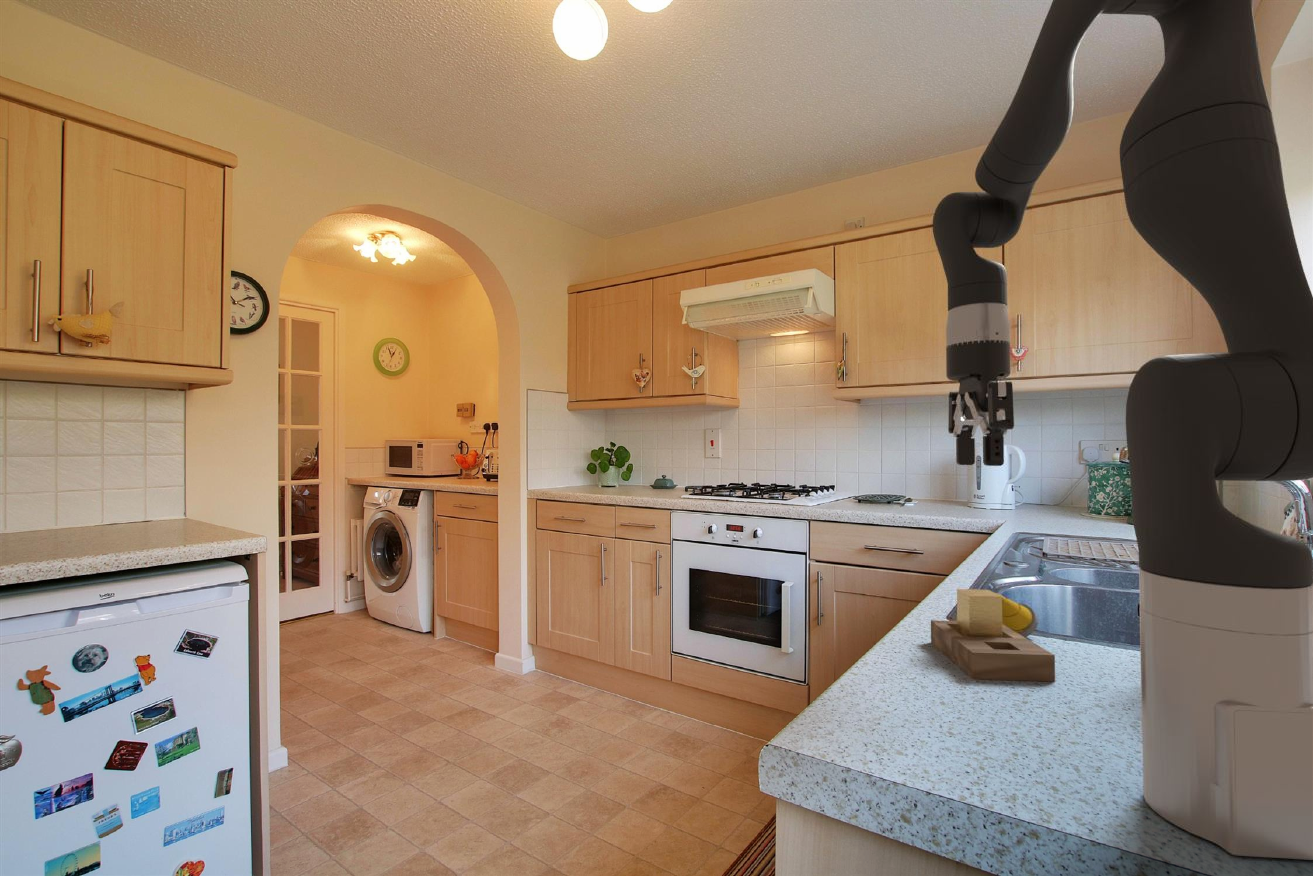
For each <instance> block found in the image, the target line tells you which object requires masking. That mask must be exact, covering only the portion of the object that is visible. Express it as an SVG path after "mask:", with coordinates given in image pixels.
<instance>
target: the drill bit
mask: <svg viewBox="0 0 1313 876" xmlns="http://www.w3.org/2000/svg"><path fill="white" fill-rule="evenodd" d="M995 593H996V594H998V595H1000V596H1002V624H1003V625H1004V626H1006V627H1008V628H1009V629H1011V630H1013V631H1015V632H1016V633H1018V634H1020V635H1021V636H1023V637H1025V638H1028V637H1029V636H1031V635H1032V634H1033V633H1034V632H1035V631H1036V630H1037V627H1038V625H1039V619H1038V617H1037V616H1038V615H1037V614H1036V613H1035V611H1034V610H1033V609H1032V608H1031V607H1030V606H1028V605H1027V604H1024V603H1017V602H1015V601H1013V600H1011V599H1010V598H1007V597H1005V596H1003V595H1002V594H1000V593H998V592H995Z"/></svg>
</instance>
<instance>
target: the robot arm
mask: <svg viewBox="0 0 1313 876" xmlns="http://www.w3.org/2000/svg"><path fill="white" fill-rule="evenodd" d="M1048 9H1049V10H1048V12H1047V14H1046V17H1045V19H1044V21H1043V24H1042V27H1041V28H1040V30H1039V33H1038V35H1037V38H1036V41H1035V44H1034V46H1033V49H1032V52H1031V53H1030V54H1031V55H1030V57H1029V60H1028V62H1027V65H1026V67H1025V70H1024V73H1023V75H1022V78H1021V80H1020V83H1019V85H1018V88H1017V90H1016V93H1015V94H1014V97H1013V98H1012V100H1011V103H1010V105H1009V107H1008V109H1007V111H1006V113H1005V115H1004V117H1003V119H1002V120H1001V121H1000V124H998V127H997V129H996V130H995V132H994V134H993V136H992V137H991V140H990V141H989V143H988V145H987V146H986V148H985V150H984V151H983V154H982V155H981V157H980V159H979V161H978V162H977V164H976V167H975V172H974V177H975V182H976V184H977V185H978V187H979V188H980V189H981V190H982V191H980V192H979V191H977V192H976V191H975V192H973V191H957V192H952V193H949V194H947V195H945V196H944V197H943V198H942V199H941V200H940V201H939V203H938V204H937V206H936V207H935V210H934V214H933V217H932V235H933V238H934V243H935V245H936V248H937V251H938V254H939V257H940V260H941V264H942V268H943V272H944V275H945V278H946V282H947V319H946V324H945V326H946V327H945V351H946V352H945V353H946V354H945V355H946V358H945V360H946V361H945V362H946V363H945V365H946V378H947V379H948V380H950V381H953V382H956V381H957V382H958V383H959V385H958V386H959V387H958V391H949V393H948V433H949V434H953V438H955V443H956V444H955V447H956V448H955V450H956V452H955V453H956V454H955V457H956V458H955V460H956V461H955V462H956V464H957V465H959V466H973V465H974V464H975V463H976V447H975V446H976V445H975V443H976V439H975V438H974V437H975V435H976V431H977V427H978V426H980V428H981V431H982V435H983V436H982V464H983V465H984V466H987V467H989V466H990V467H1000V466H1003V465H1004V463H1005V455H1004V454H1005V446H1004V445H1005V444H1004V442H1005V441H1004V439H1005V438H1004V436H1006V435H1007V434H1008V430H1013V429H1014V427H1015V417H1014V415H1015V414H1014V413H1015V412H1014V390H1013V382H1012V381H1011V380H1004V379H1005V378H1008V377H1009V376H1010V375H1011V330H1010V329H1011V328H1010V326H1011V325H1010V324H1011V323H1010V316H1009V311H1008V276H1007V274H1008V273H1007V269H1006V267H1005V265H1003V264H1002V263H999V262H997V261H995V260H991V259H987V258H984V257H982V256H981V255H979V254H978V253H977V252H976V250H975V249H994V248H999V247H1001V246H1004V245H1006V244H1008V243H1009V242H1010V241H1011V240H1012V239H1014V238H1015V236H1016V235H1017V234H1018V232H1019V230H1020V229H1021V226H1022V222H1023V220H1024V217H1025V213H1026V209H1027V207H1028V203H1029V201H1030V198H1031V195H1032V193H1033V190H1034V187H1035V185H1036V183H1037V181H1038V180H1039V178H1040V177H1041V175H1042V174H1043V173H1044V171H1045V170H1046V168H1047V167H1048V166H1049V163H1050V162H1051V161H1052V160H1053V159H1054V157H1055V155H1056V154H1057V152H1058V150H1059V149H1060V148H1061V147H1062V144H1063V143H1064V141H1065V139H1066V137H1067V135H1068V132H1069V131H1070V128H1071V125H1072V120H1073V115H1074V114H1073V113H1074V67H1075V59H1076V55H1077V52H1078V49H1079V46H1080V44H1081V43H1082V41H1083V39H1084V37H1085V35H1086V33H1088V30H1089V29H1090V27H1091V26H1092V25H1093V23H1094V22H1095V20H1096V19H1097V18H1098V17H1099V16H1100V15H1105V14H1106V15H1134V16H1137V15H1138V16H1147V17H1148V16H1150V17H1152V18H1154V19H1155V20H1156V21H1157V22H1158V25H1159V27H1160V29H1161V32H1162V37H1163V38H1162V39H1163V46H1164V47H1163V51H1164V60H1163V65H1162V67H1161V69H1160V70H1159V72H1158V73H1157V75H1156V77H1155V78H1154V80H1153V81H1152V82H1151V84H1150V85H1149V86H1148V88H1147V90H1146V92H1145V93H1144V94H1143V96H1142V97H1141V99H1140V100H1139V102H1138V104H1137V105H1136V107H1135V108H1134V111H1133V112H1132V114H1131V115H1130V117H1129V119H1128V121H1127V123H1126V125H1125V127H1124V130H1123V133H1122V135H1121V140H1120V144H1119V163H1120V171H1121V180H1122V187H1123V193H1124V202H1125V208H1126V212H1127V216H1128V219H1129V221H1130V223H1131V224H1132V225H1133V228H1134V229H1135V230H1136V232H1137V234H1139V235H1140V237H1141V238H1142V239H1143V240H1144V241H1145V242H1146V244H1147V245H1149V247H1151V249H1152V250H1154V251H1155V253H1156V254H1158V256H1160V257H1161V259H1162V260H1164V261H1165V262H1166V263H1167V264H1169V266H1171V267H1172V268H1173V269H1174V270H1175V271H1176V272H1177V273H1178V274H1180V275H1181V276H1182V277H1183V278H1184V279H1185V280H1186V281H1188V283H1189V284H1190V285H1191V286H1192V287H1194V288H1195V290H1197V292H1198V293H1199V294H1200V295H1201V296H1202V298H1203V299H1204V300H1205V301H1206V303H1207V304H1208V306H1209V307H1210V309H1211V311H1212V312H1213V314H1214V316H1215V318H1216V320H1217V322H1218V324H1219V327H1220V329H1221V332H1222V335H1223V339H1224V341H1225V344H1226V348H1227V351H1228V352H1211V353H1185V354H1184V353H1183V354H1168V355H1163V356H1158V357H1155V358H1154V357H1153V358H1152V359H1150V360H1148V361H1147V362H1145V363H1144V364H1143V365H1142V366H1141V367H1140V368H1139V369H1138V370H1137V371H1136V373H1135V374H1134V376H1133V378H1132V381H1131V383H1130V385H1129V388H1128V394H1127V399H1126V404H1125V431H1126V432H1125V433H1126V434H1125V435H1126V436H1125V437H1126V447H1127V456H1128V457H1127V458H1128V467H1129V479H1130V481H1129V482H1130V495H1131V512H1132V514H1131V516H1132V523H1133V528H1134V533H1135V537H1136V538H1135V539H1136V542H1137V549H1138V551H1137V552H1138V567H1139V568H1138V574H1139V575H1138V577H1139V579H1138V581H1139V584H1138V585H1139V588H1138V589H1139V645H1140V646H1139V647H1140V648H1139V649H1140V652H1139V653H1140V655H1139V656H1140V695H1141V696H1140V700H1141V701H1140V702H1141V706H1140V708H1141V709H1140V710H1141V744H1142V745H1141V746H1142V748H1141V749H1142V788H1143V789H1142V791H1143V795H1142V796H1143V798H1144V800H1145V802H1146V804H1147V805H1148V806H1149V807H1150V808H1151V810H1153V811H1154V812H1155V813H1157V814H1158V815H1159V816H1160V817H1161V818H1163V819H1164V820H1167V821H1168V822H1170V823H1171V824H1173V825H1174V826H1177V827H1179V828H1180V829H1182V830H1184V831H1187V832H1188V833H1189V834H1193V835H1195V836H1197V837H1200V838H1202V839H1204V840H1207V841H1210V842H1212V843H1214V844H1216V845H1217V846H1219V847H1220V848H1222V849H1224V850H1225V852H1228V853H1229V854H1231V855H1233V856H1240V857H1241V856H1242V857H1259V858H1260V857H1261V858H1273V859H1275V858H1276V859H1289V860H1290V859H1292V860H1309V861H1313V556H1312V552H1311V549H1310V548H1309V546H1308V544H1306V543H1305V542H1303V541H1302V540H1300V539H1298V538H1296V537H1293V536H1290V535H1287V534H1284V533H1280V532H1277V531H1273V530H1269V529H1267V528H1264V527H1262V526H1261V527H1260V526H1258V525H1255V524H1253V523H1251V522H1248V521H1246V520H1245V519H1244V518H1243V519H1242V518H1241V517H1239V516H1237V515H1236V514H1234V513H1233V512H1231V511H1230V510H1228V509H1227V508H1226V507H1225V506H1224V505H1223V503H1222V501H1221V498H1220V496H1219V492H1218V488H1217V481H1222V482H1223V481H1225V482H1229V481H1231V482H1232V481H1233V482H1234V481H1235V482H1236V481H1237V482H1238V481H1239V482H1240V481H1242V482H1246V481H1247V482H1251V481H1254V482H1286V481H1287V482H1289V481H1290V482H1291V481H1304V480H1310V479H1312V478H1313V294H1312V291H1311V288H1310V285H1309V281H1308V280H1307V275H1306V273H1305V271H1304V268H1303V267H1304V266H1303V263H1302V259H1301V255H1300V252H1299V247H1298V244H1297V241H1296V236H1295V233H1294V227H1293V222H1292V219H1291V214H1290V209H1289V204H1288V200H1287V195H1286V188H1285V181H1284V176H1283V168H1282V161H1281V155H1280V148H1279V143H1278V137H1277V133H1276V127H1275V122H1274V117H1273V113H1272V108H1271V105H1270V103H1269V98H1268V95H1267V92H1266V86H1265V82H1264V78H1263V77H1264V76H1263V71H1262V65H1261V61H1260V51H1259V46H1258V45H1259V44H1258V39H1257V31H1256V25H1255V19H1254V17H1255V16H1254V11H1253V10H1254V8H1253V0H1052V2H1051V4H1050V7H1049V8H1048ZM1002 379H1003V380H1002Z"/></svg>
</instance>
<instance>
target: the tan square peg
mask: <svg viewBox="0 0 1313 876" xmlns="http://www.w3.org/2000/svg"><path fill="white" fill-rule="evenodd" d="M996 593H997V592H994V591H991V590H989V589H977V588H976V589H970V588H969V589H967V588H962V589H961V588H957V589H956V611H957V612H956V613H957V614H956V618H957V619H956V621H957V632H958V633H960V634H961V635H962V636H964V637H996V638H1003V634H1002V596H1003V595H1001V594H999V593H997V594H996ZM998 594H999V595H998ZM1000 595H1001V596H1000Z"/></svg>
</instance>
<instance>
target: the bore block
mask: <svg viewBox="0 0 1313 876" xmlns="http://www.w3.org/2000/svg"><path fill="white" fill-rule="evenodd" d="M1002 634H1003V638H996V637H964V636H962V635H961V634H960V633H958V632H957V620H935V619H934V620H933V619H931V620H930V643H931V644H932V643H933V644H932V645H933V646H935V648H937V649H938V650H939V651H941V653H943V654H944V655H945V656H946V657H947V658H949V659H950V660H951V661H952V662H953V663H954V664H955V665H957V667H959V668H960V669H961V670H962V671H964V673H966V674H967V675H968V676H969V677H970V678H971V679H974V680H975V679H976V680H997V681H998V680H1000V681H1001V680H1002V681H1023V682H1025V681H1028V682H1053V683H1054V682H1056V660H1055V659H1056V658H1055V657H1056V655H1055V654H1053V653H1052V652H1050V651H1048V650H1047V649H1045V648H1043V647H1041V646H1040V645H1038V644H1037V643H1034V641H1031V640H1029V639H1028V638H1027V637H1023V636H1021V635H1020V634H1018V633H1016V632H1015V631H1013V630H1011V629H1009V628H1008V627H1006V626H1004V625H1003V624H1002Z"/></svg>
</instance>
